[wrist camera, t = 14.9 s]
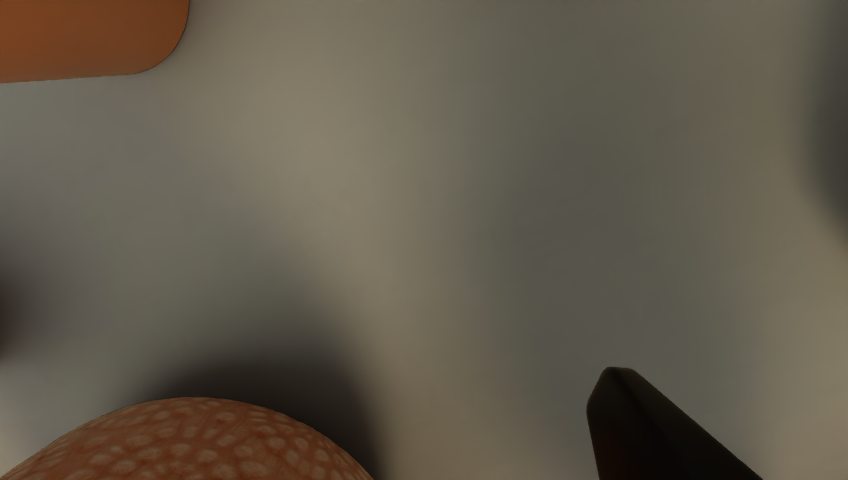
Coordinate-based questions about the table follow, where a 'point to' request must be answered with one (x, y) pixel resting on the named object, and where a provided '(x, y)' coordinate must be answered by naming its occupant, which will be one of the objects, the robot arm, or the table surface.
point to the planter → (191, 446)
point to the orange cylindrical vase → (86, 37)
